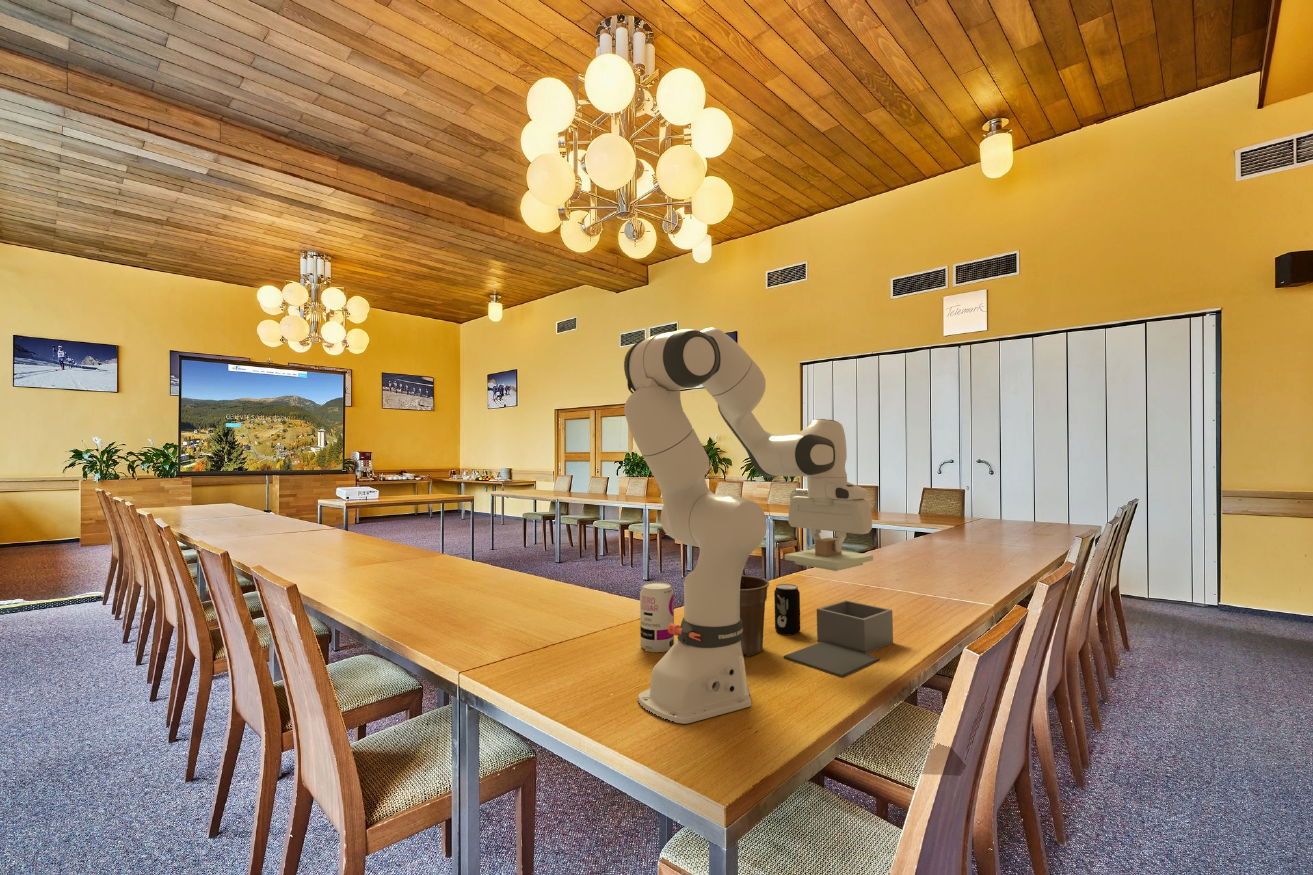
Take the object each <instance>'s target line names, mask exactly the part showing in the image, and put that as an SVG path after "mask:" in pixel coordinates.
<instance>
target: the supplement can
mask: <svg viewBox="0 0 1313 875" xmlns="http://www.w3.org/2000/svg"><path fill="white" fill-rule="evenodd" d="M674 591H675V590H673V587H672V585H671V584H670V583H665V582H648V583H645V584H643V585H642V587H641V590H640V592H639V598H640V599H639V604H640V606H639V609H640V610H639V612H640V616H639V617H640V618H639V619H640V620H639V621H640V622H639V623H640V626H639V627H640V628H639V629H640V631H639V632H640V634H639V635H640V647H641V648H642V649H643V648H644V649H645V650H647V651H646V652H648V651H650V652H649V653H654V652H661V653H665V651H666V652H668V650H669V649H670V648H671V647H672V646H673V645H674V644H675V635H674V634H670V633H669V632H668V631H669V630H668V626H669V624H671V623H673V624H675V602H674V601H675V596H674V594H675V593H674ZM644 649H643V650H644ZM645 650H644V651H645Z"/></svg>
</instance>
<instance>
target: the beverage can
mask: <svg viewBox="0 0 1313 875" xmlns="http://www.w3.org/2000/svg"><path fill="white" fill-rule="evenodd" d="M798 588H799V587H798V585H795V584H793V583H779V584H776V585H775V589H774V591H773V592H774V594H773V597H774V629H775V631H776V632H777V633H778V634H780V635H785V636H794V635H798V634H799V633H800V631H801V596H800V595H801V592H800V591H799V589H798Z"/></svg>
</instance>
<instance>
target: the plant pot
mask: <svg viewBox="0 0 1313 875" xmlns="http://www.w3.org/2000/svg"><path fill="white" fill-rule="evenodd" d="M769 586H770V582H769V580H767V579H766V578H762V577H757V576H752V575H742V576H741V583H740V618H741V619H742V627H743V638H742V639H741V648H742V653H743V655H746V656H748V657H749V656H753V655H754V656H755V655H757V654H759V653H761V652H762V650H763V647H764V646H763V645H764V627H765V624H764V623H765V610H766V601H767V597H768V587H769Z"/></svg>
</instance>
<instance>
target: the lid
mask: <svg viewBox="0 0 1313 875" xmlns="http://www.w3.org/2000/svg"><path fill="white" fill-rule="evenodd" d="M837 538H838V537H836V538H835V537H825V538H821V539H818V540H815V541H814V549H813V548H812V549H807V550H802V551H796V552H795V551H794V552H790V553H786V554H784V560H785V561H791V562H794V564H795V565H798V566H802V567H803V566H804V567H809V568H816V569H823V570H828V571H835V572H839V571H841V570H842V571H843V570H847V569H851V568H854V567H855V568H856V567H859V566H863V565H864V563H868V562H872V561H873V562H874V555H873V554H868V553H867V554H866V553H860V552H853V551H845V550H842V551H840V552H835V551H832V543H835V542H836V540H837Z"/></svg>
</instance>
